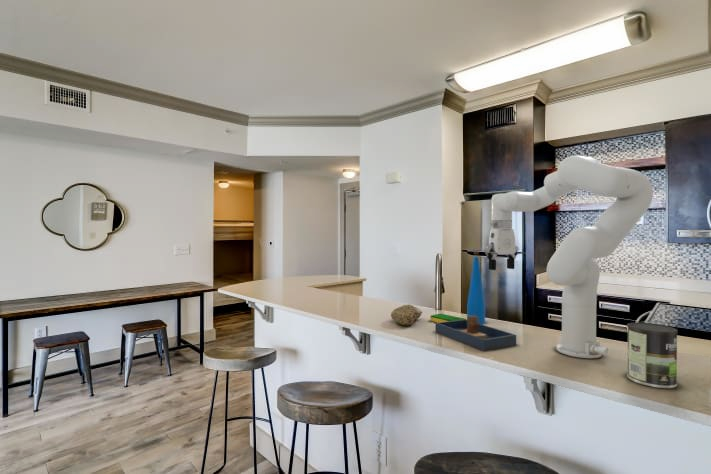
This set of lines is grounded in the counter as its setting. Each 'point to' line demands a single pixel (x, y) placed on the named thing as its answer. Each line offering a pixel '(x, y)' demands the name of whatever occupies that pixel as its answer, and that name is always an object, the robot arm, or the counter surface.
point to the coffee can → (652, 354)
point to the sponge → (406, 314)
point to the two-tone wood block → (473, 327)
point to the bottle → (476, 294)
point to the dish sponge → (443, 318)
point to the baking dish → (493, 336)
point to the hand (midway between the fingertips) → (501, 269)
